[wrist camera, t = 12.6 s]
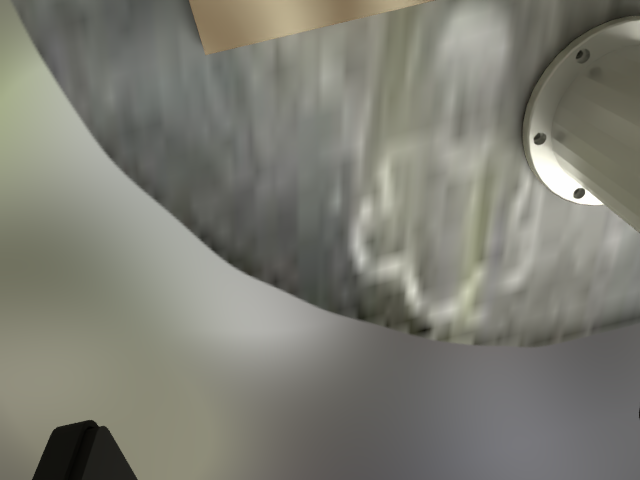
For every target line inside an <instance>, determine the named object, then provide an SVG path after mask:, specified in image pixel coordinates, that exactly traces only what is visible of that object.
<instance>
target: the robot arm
mask: <svg viewBox="0 0 640 480" xmlns="http://www.w3.org/2000/svg"><path fill="white" fill-rule="evenodd" d="M578 52H579V55H578V56H577V53H578ZM576 56H577V57H576ZM536 134H537V136H536V137H534V136H535V135H536ZM523 146H524V151H525V157H526V159H527V161H528V164H529V166H530V168H531V171H532V172H533V173H534V174H535V176H536V177H537V178H538V180H539V181H540V182H541V183H542V184H543V185H544V186H545V187H546V188H547V189H548V190H550V191H551V192H552V193H554V194H555V195H557V196H559V197H560V198H562V199H564V200H567V201H569V202H572V203H575V204H582V205H590V206H596V205H606V206H607V207H608V208H609V209H611V210H612V211H613V212H614V213H615V214H617V215H618V216H619V217H620V218H622V219H623V220H624V221H625V222H626V223H628V224H629V225H630V226H631V227H633V228H634V229H635V230H636V231H638V232H639V233H640V16H628V17H624V18H620V19H615V20H611V21H609V22H606V23H604V24H602V25H599V26H597V27H595V28H593V29H591V30H589V31H588V32H586V33H585V34H583V35H582V36H580V37H578V38H577V39H575V40H574V41H573V42H572V43H570V44H569V45H568V46H567V47H566V48H565V49H564V50H563V51H561V52H560V53H559V54H558V55H557V56H556V58H555V59H554V60H553V61H552V62H551V64H550V65H549V66H548V67H547V68H546V70H545V71H544V73H543V74H542V76H541V78H540V79H539V81H538V83H537V84H536V86H535V88H534V90H533V92H532V95H531V97H530V100H529V102H528V105H527V108H526V112H525V117H524V122H523ZM639 418H640V410H639ZM32 480H137V478H136V476H135V474H134V473H133V471H132V469H131V467H130V466H129V464H128V462H127V461H126V459H125V457H124V455H123V454H122V452H121V450H120V448H119V447H118V445H117V443H116V442H115V440H114V438H113V436H112V435H111V433H110V431H109V430H108V428H107V427H105V426H101V427H99V426H98V425H97V424H96V422H94V421H93V420H87V421H83V422H78V423H74V424H69V425H65V426H60V427H57V428H56V429H54V430H53V432H52V434H51V435H50V438H49V440H48V443H47V445H46V447H45V450H44V452H43V455H42V457H41V460H40V462H39V464H38V467H37V469H36V472H35V474H34V477H33V479H32Z"/></svg>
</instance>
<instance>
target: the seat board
mask: <svg viewBox="0 0 640 480" xmlns="http://www.w3.org/2000/svg"><path fill="white" fill-rule="evenodd" d="M430 1H434V0H189V2H190V5H191V9H192V12H193V15H194V19H195V22H196V25H197V28H198V32H199V35H200V38H201V42H202V45H203V48H204V51H205V55H208V54H212V53H216V52H220V51H225V50H229V49H233V48H237V47H241V46H245V45H250V44H254V43H258V42H262V41H266V40H271V39H275V38H279V37H283V36H287V35H292V34H296V33H300V32H304V31H308V30H313V29H317V28H321V27H325V26H329V25H334V24H338V23H342V22H346V21H350V20H355V19H359V18H363V17H367V16H371V15H376V14H380V13H384V12H388V11H392V10H397V9H401V8H405V7H409V6H413V5H418V4H422V3H426V2H430Z"/></svg>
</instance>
